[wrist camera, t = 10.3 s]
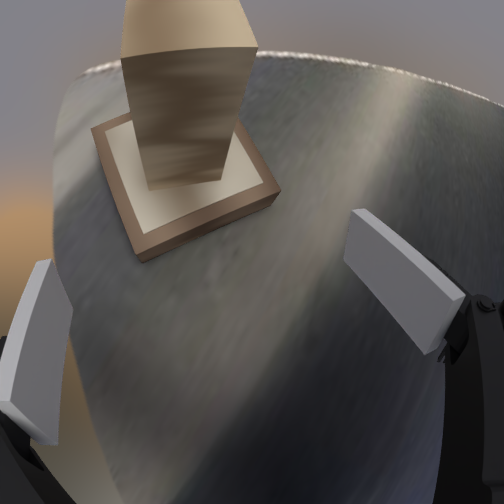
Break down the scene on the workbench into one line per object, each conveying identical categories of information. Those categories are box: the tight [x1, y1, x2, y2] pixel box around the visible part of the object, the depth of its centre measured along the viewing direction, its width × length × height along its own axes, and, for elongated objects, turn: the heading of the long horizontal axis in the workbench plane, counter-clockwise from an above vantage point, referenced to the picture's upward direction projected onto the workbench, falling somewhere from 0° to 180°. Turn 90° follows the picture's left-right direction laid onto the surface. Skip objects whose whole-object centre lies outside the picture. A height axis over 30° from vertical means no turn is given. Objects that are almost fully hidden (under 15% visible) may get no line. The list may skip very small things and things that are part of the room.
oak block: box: [121, 0, 258, 191], centre depth 15 cm, size 5×5×12 cm
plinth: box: [91, 112, 281, 263], centre depth 22 cm, size 11×11×3 cm
